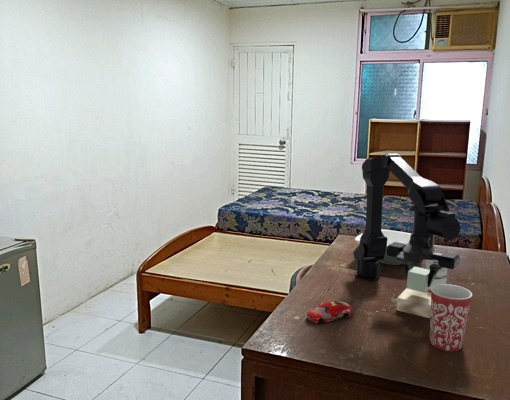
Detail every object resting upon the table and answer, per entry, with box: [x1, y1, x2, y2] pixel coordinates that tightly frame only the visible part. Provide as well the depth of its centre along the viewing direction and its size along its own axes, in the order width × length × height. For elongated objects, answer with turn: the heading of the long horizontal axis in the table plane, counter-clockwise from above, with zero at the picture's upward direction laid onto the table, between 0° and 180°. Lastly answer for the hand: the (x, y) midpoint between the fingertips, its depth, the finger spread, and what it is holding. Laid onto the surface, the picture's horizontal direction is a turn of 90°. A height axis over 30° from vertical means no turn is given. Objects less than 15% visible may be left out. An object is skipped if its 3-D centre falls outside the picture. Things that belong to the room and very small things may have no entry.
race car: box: [306, 300, 354, 325], centre depth 123 cm, size 13×5×4 cm, turn 114°
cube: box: [406, 266, 431, 293], centre depth 128 cm, size 5×5×5 cm
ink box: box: [425, 252, 448, 293], centre depth 139 cm, size 9×5×12 cm, turn 168°
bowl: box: [354, 228, 412, 266], centre depth 171 cm, size 22×23×8 cm
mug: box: [429, 283, 473, 352], centre depth 110 cm, size 13×9×14 cm
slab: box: [396, 287, 431, 319], centre depth 129 cm, size 9×9×4 cm
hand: (419, 284), depth 128 cm, fingers closed on cube, 5 cm apart
